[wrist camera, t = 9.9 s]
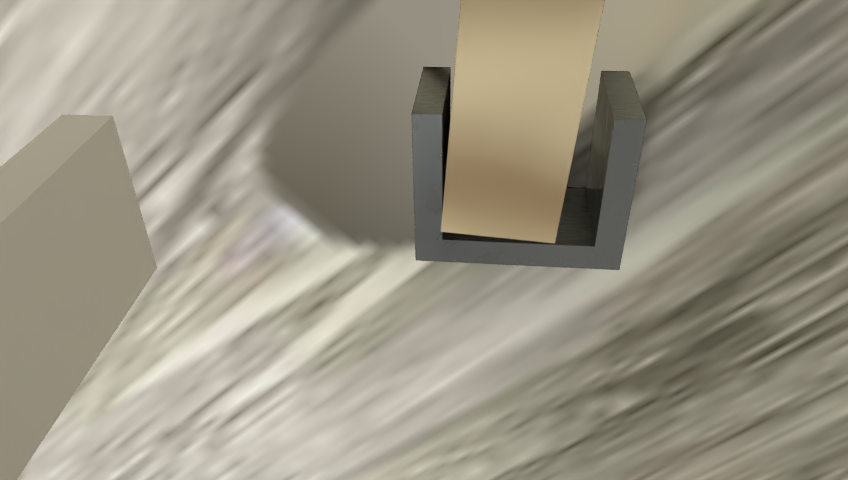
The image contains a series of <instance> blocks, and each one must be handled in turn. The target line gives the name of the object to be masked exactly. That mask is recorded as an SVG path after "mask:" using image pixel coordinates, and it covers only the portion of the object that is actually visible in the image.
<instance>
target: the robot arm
mask: <svg viewBox="0 0 848 480" xmlns="http://www.w3.org/2000/svg"><path fill="white" fill-rule="evenodd" d="M156 268H157V266H156V262H155V259H154V255H153V252H152V249H151V245H150V242H149V238H148V235H147V231H146V228H145V225H144V221H143V218H142V214H141V211H140V207H139V204H138V201H137V197H136V194H135V190H134V187H133V184H132V180H131V177H130V173H129V170H128V166H127V163H126V160H125V156H124V153H123V149H122V146H121V143H120V139H119V136H118V132H117V129H116V125H115V122H114V119H113V116H89V115H62V116H60V117H59V118H58V119H57V120H56V121H54V122H53V123H52V124H51V125H50V126H49V127H47V128H46V129H45V130H44V131H43V132H41V133H40V134H39V135H38V136H37V137H36V138H34V139H33V140H32V141H31V142H30V143H28V144H27V145H26V146H25V147H24V148H22V149H21V150H20V151H19V152H18V153H17V154H15V155H14V156H13V157H12V158H11V159H9V160H8V161H7V162H6V163H5V164H4V165H2V166H1V167H0V480H17V478H18V477H19V475H20V474H21V472H22V471H23V469H24V468H25V466H26V465H27V463H28V462H29V460H30V459H31V457H32V456H33V454H34V453H35V451H36V450H37V448H38V447H39V445H40V444H41V442H42V441H43V439H44V438H45V436H46V434H47V433H48V431H49V430H50V428H51V427H52V425H53V424H54V422H55V421H56V419H57V418H58V416H59V415H60V413H61V412H62V410H63V409H64V407H65V406H66V404H67V403H68V401H69V400H70V398H71V397H72V395H73V394H74V392H75V391H76V389H77V388H78V386H79V385H80V383H81V382H82V380H83V379H84V377H85V376H86V374H87V373H88V371H89V370H90V368H91V367H92V365H93V364H94V362H95V360H96V359H97V357H98V356H99V354H100V353H101V351H102V350H103V348H104V347H105V345H106V344H107V342H108V341H109V339H110V338H111V336H112V335H113V333H114V332H115V330H116V329H117V327H118V326H119V324H120V323H121V321H122V320H123V318H124V317H125V315H126V314H127V312H128V311H129V309H130V308H131V306H132V305H133V303H134V302H135V300H136V299H137V297H138V296H139V294H140V293H141V291H142V290H143V288H144V287H145V285H146V283H147V282H148V280H149V279H150V277H151V276H152V274H153V273H154V271H155V270H156Z"/></svg>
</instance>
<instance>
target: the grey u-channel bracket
mask: <svg viewBox="0 0 848 480" xmlns="http://www.w3.org/2000/svg"><path fill="white" fill-rule="evenodd" d="M646 122H647V120H646V117H645V114H644V111H643V108H642V106H641V103H640V100H639V97H638V94H637V91H636V89H635V86H634V83H633V80H632V77H631V74H630V72H627V71H602V72H601V78H600V85H599V93H598V100H597V107H596V115H595V122H594V129H593V136H592V144H591V151H590V158H589V166H588V173H587V180H586V188H566V192H565V197H564V202H563V206H562V211H561V216H560V221H559V226H558V231H557V236H556V241H555V243H546V242H536V241H527V240H517V239H507V238H498V237H488V236H478V235H469V234H459V233H449V232H441V223H442V212H443V200H444V189H445V177H446V166H447V154H448V143H449V131H450V67H423V72H422V76H421V79H420V83H419V87H418V91H417V95H416V99H415V102H414V106H413V110H412V146H413V147H412V148H413V181H414V215H415V216H414V219H415V254H416V260H421V261H442V262H463V263H484V264H505V265H526V266H547V267H568V268H589V269H610V270H619V269H620V263H621V258H622V252H623V247H624V242H625V236H626V231H627V225H628V220H629V214H630V209H631V204H632V198H633V193H634V187H635V182H636V176H637V171H638V166H639V160H640V155H641V149H642V144H643V138H644V133H645V127H646Z"/></svg>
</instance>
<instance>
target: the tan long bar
mask: <svg viewBox="0 0 848 480" xmlns="http://www.w3.org/2000/svg"><path fill="white" fill-rule="evenodd" d="M604 2H605V0H461V6H460V16H459V27H458V39H457V51H456V63H455V74H454V85H453V98H452V109H451V120H450V131H449V143H448V154H447V166H446V177H445V189H444V200H443V212H442V223H441V232H449V233H459V234H469V235H478V236H488V237H498V238H507V239H517V240H527V241H536V242H546V243H555V241H556V236H557V231H558V226H559V221H560V216H561V211H562V206H563V202H564V197H565V192H566V187H567V182H568V177H569V172H570V167H571V163H572V158H573V153H574V148H575V143H576V138H577V133H578V129H579V124H580V119H581V114H582V109H583V104H584V99H585V94H586V89H587V85H588V80H589V75H590V70H591V65H592V60H593V55H594V51H595V46H596V41H597V36H598V31H599V26H600V21H601V16H602V12H603V7H604Z"/></svg>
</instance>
